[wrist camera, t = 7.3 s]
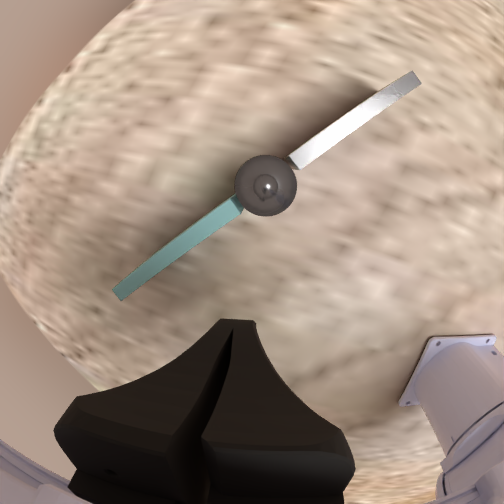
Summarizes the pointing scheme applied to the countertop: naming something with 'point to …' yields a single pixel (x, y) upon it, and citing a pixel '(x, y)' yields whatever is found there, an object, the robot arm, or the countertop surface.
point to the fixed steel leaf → (307, 154)
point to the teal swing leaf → (180, 246)
